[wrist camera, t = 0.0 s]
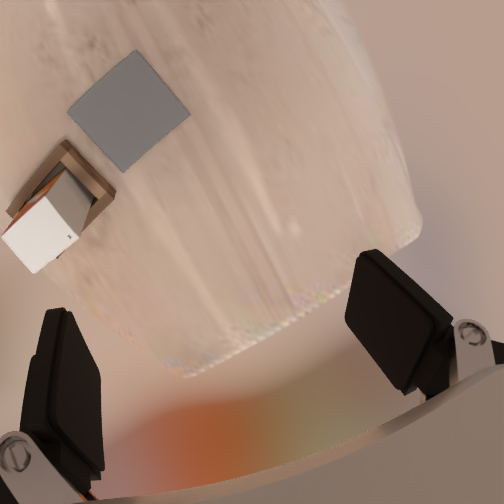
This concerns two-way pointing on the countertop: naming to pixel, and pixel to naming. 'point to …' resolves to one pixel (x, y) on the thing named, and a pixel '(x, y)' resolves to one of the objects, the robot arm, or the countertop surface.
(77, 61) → the countertop surface
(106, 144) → the mat
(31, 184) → the holder
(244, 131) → the countertop surface
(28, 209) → the small box
